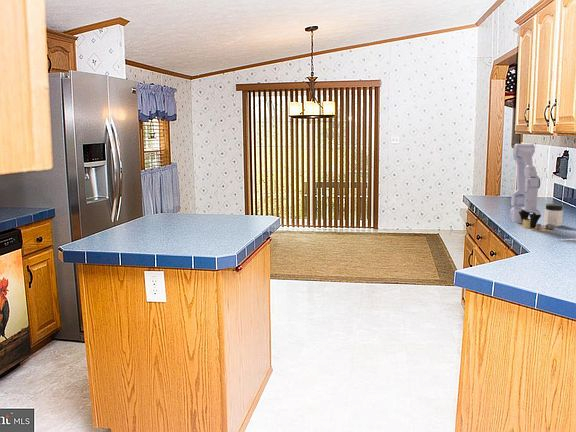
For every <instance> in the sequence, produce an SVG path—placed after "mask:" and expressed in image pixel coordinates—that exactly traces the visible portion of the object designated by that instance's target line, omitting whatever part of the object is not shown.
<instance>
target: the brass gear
mask: <svg viewBox="0 0 576 432" xmlns="http://www.w3.org/2000/svg"><path fill="white" fill-rule="evenodd" d="M521 224H522V228H524V227H525V228H524V229H527V228H531V220H530V218H528V219H523V222H522V223H521Z"/></svg>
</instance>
